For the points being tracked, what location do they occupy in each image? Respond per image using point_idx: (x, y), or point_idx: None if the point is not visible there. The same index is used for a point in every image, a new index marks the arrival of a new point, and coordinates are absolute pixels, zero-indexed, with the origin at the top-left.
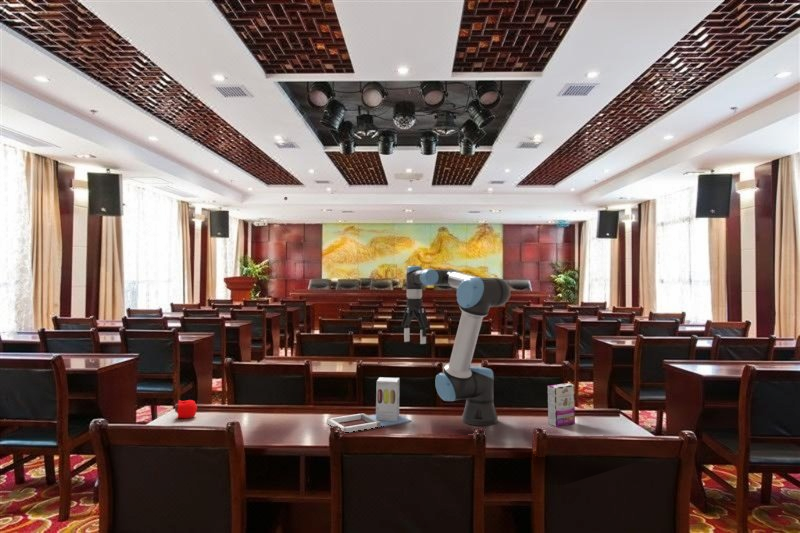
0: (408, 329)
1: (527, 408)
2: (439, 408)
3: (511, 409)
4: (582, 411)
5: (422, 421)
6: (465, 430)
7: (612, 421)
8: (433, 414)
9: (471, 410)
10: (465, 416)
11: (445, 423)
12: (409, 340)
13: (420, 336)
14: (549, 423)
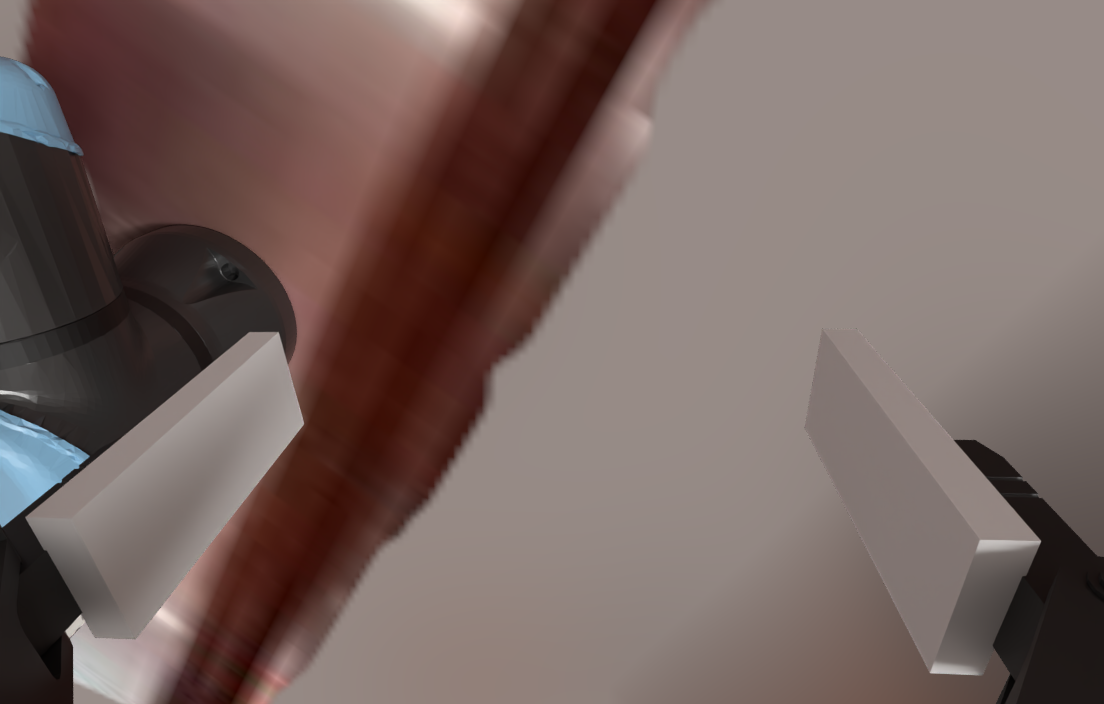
0: (919, 608)
1: (336, 596)
2: (512, 290)
3: (345, 543)
4: (233, 688)
5: (292, 15)
6: None
7: (99, 662)
8: (410, 178)
9: (117, 264)
10: (173, 237)
11: (215, 124)
12: (811, 435)
13: (189, 407)
14: None
